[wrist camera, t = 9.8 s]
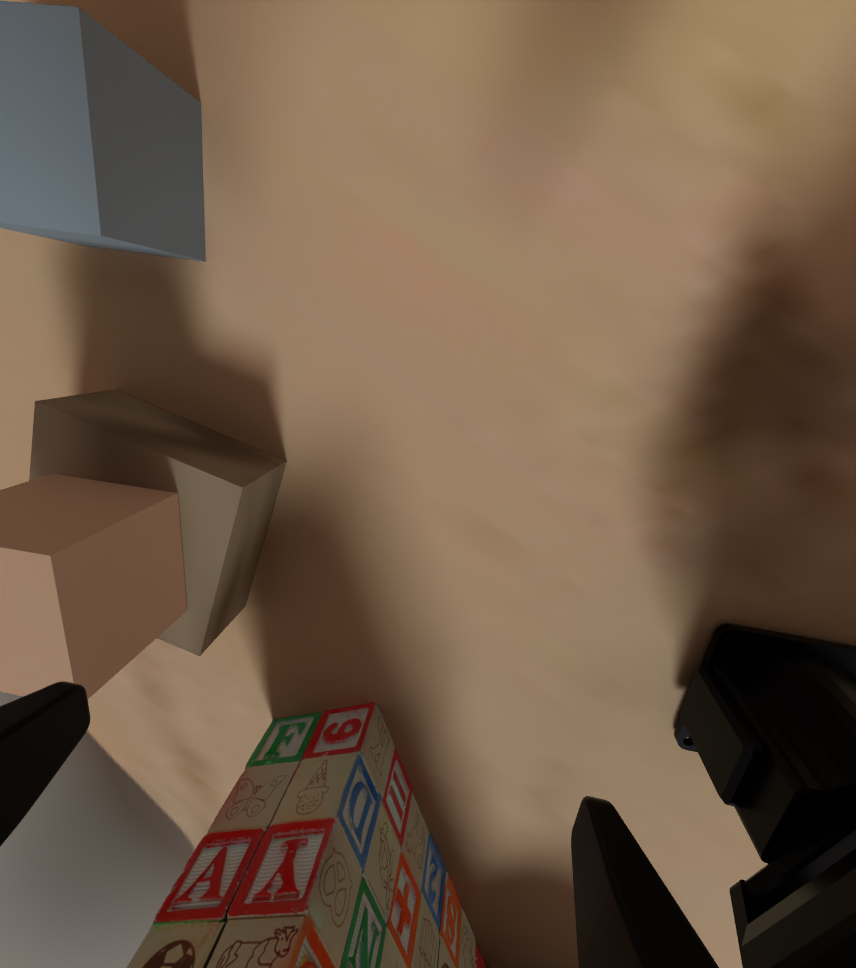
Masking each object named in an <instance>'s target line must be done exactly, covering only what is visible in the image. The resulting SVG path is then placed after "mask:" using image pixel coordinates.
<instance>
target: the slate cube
mask: <svg viewBox="0 0 856 968" xmlns="http://www.w3.org/2000/svg"><path fill="white" fill-rule="evenodd" d="M0 228H4V229H8V230H13V231H18V232H22V233H27V234H32V235H36V236H41V237H46V238H51V239H55V240H60V241H65V242H69V243H74V244H79V245H83V246H90V247H97V248H105V249H113V250H120V251H128V252H136V253H144V254H151V255H159V256H167V257H174V258H182V259H190V260H198V261H205V262H206V258H205V224H204V190H203V157H202V123H201V103H200V102H199V101H198V100H196V99H195V98H194V97H193V96H191V95H190V94H189V93H188V92H186V91H185V90H184V89H182V88H181V87H180V86H179V85H177V84H176V83H175V82H174V81H172V80H171V79H170V78H168V77H167V76H166V75H165V74H163V73H162V72H161V71H160V70H158V69H157V68H156V67H154V66H153V65H152V64H151V63H149V62H148V61H147V60H145V59H144V58H143V57H142V56H140V55H139V54H138V53H137V52H135V51H134V50H133V49H131V48H130V47H129V46H128V45H126V44H125V43H124V42H123V41H121V40H120V39H119V38H117V37H116V36H115V35H114V34H112V33H111V32H110V31H109V30H107V29H106V28H105V27H103V26H102V25H101V24H100V23H98V22H97V21H96V20H94V19H93V18H92V17H91V16H89V15H88V14H87V13H86V12H84V11H83V10H82V9H80V8H79V7H73V6H60V5H47V4H35V3H22V2H10V1H0Z"/></svg>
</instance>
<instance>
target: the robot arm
mask: <svg viewBox="0 0 856 968" xmlns="http://www.w3.org/2000/svg"><path fill="white" fill-rule="evenodd" d="M728 635H733V636H732V637H731V638H729V639H725V638H726V636H728ZM89 724H90V712H89V706H88V700H87V693H86V689H85V688H84V687H83V686H82V685H80V684H75V683H71V682H65V681H61V682H57V683H54V684H52V685H49V686H47V687H45V688H42V689H40V690H38V691H35V692H33V693H31V694H28V695H26V696H24V697H21V698H19V699H17V700H14V701H12V702H10V703H7V704H5V705H2V706H0V846H1V845H2V843H3V842H4V841H5V840H6V839H7V838H8V836H9V835H10V834H11V833H12V831H13V830H14V829H15V828H16V827H17V825H18V824H19V823H20V822H21V820H22V819H23V818H24V816H25V815H26V814H27V812H28V811H29V810H30V808H31V807H32V806H33V804H34V803H35V802H36V800H37V799H38V798H39V796H40V795H41V793H42V792H43V791H44V789H45V788H46V787H47V785H48V784H49V782H50V781H51V780H52V778H53V777H54V776H55V774H56V773H57V771H58V770H59V769H60V767H61V766H62V765H63V763H64V762H65V761H66V759H67V758H68V756H69V755H70V754H71V752H72V751H73V749H74V748H75V747H76V745H77V744H78V742H79V741H80V740H81V738H82V737H83V736H84V734H85V733H86V731H87V729H88V727H89ZM674 736H675V738H676V741H677V743H678V745H679V746H680V747H681V748H682V749H685V750H689V751H694V752H698V754H699V756H700V758H701V760H702V762H703V764H704V766H705V768H706V770H707V772H708V774H709V776H710V778H711V780H712V782H713V784H714V786H715V789H716V791H717V793H718V795H719V796H720V798H721V799H722V800H723V802H724V803H725V804H727V805H731V806H734V807H735V809H736V811H737V813H738V815H739V817H740V819H741V821H742V823H743V825H744V827H745V829H746V831H747V833H748V834H749V836H750V838H751V840H752V842H753V844H754V846H755V848H756V850H757V852H758V854H759V856H760V858H761V860H762V861H763V862H765V863H768V865H766V866H765V867H764V868H762V869H761V870H760V871H758V872H757V873H756V874H754V875H753V876H752V877H750V878H749V879H748V880H746V881H745V880H742V879H741V880H740V881H739V882H737V883H736V884H735V885H733V886H732V887H731V888H730V896H731V901H732V907H733V913H734V919H735V925H736V930H737V936H738V942H739V948H740V954H741V959H742V965H743V968H856V646H851V645H845V644H840V643H834V642H829V641H823V640H818V639H812V638H807V637H801V636H795V635H790V634H784V633H779V632H773V631H768V630H762V629H757V628H751V627H746V626H740V625H734V624H723V625H720V626H719V627H717V628H716V630H715V631H714V633H713V636H712V638H711V641H710V643H709V646H708V648H707V651H706V653H705V656H704V658H703V661H702V663H701V666H700V667H699V668H698V669H697V670H696V672H695V675H694V677H693V680H692V682H691V685H690V687H689V690H688V692H687V695H686V698H685V700H684V703H683V705H682V708H681V710H680V719H679V722H678V724H677V727H676V729H675V732H674ZM687 737H689V738H687ZM571 850H572V867H573V883H574V900H575V916H576V932H577V948H578V961H579V968H719V967H718V965H717V964H716V962H715V961H714V959H713V958H712V956H711V955H710V953H709V952H708V950H707V948H706V947H705V945H704V944H703V942H702V941H701V939H700V938H699V936H698V935H697V933H696V932H695V930H694V929H693V927H692V926H691V924H690V922H689V921H688V919H687V918H686V916H685V915H684V913H683V912H682V910H681V909H680V907H679V906H678V904H677V903H676V901H675V899H674V898H673V896H672V895H671V893H670V892H669V890H668V889H667V887H666V886H665V884H664V883H663V881H662V880H661V878H660V877H659V875H658V873H657V872H656V870H655V869H654V867H653V866H652V864H651V863H650V861H649V860H648V858H647V857H646V855H645V854H644V852H643V850H642V849H641V847H640V846H639V844H638V843H637V841H636V840H635V838H634V837H633V835H632V834H631V832H630V831H629V829H628V828H627V826H626V824H625V823H624V821H623V820H622V818H621V817H620V815H619V814H618V812H617V811H616V809H615V808H614V806H613V805H612V804H611V803H610V802H609V801H607V800H603V799H599V798H594V797H590V796H586V797H584V798H583V800H582V802H581V805H580V808H579V811H578V814H577V817H576V820H575V823H574V826H573V829H572V836H571Z"/></svg>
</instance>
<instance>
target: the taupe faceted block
mask: <svg viewBox="0 0 856 968" xmlns="http://www.w3.org/2000/svg"><path fill="white" fill-rule="evenodd" d="M286 462H287V461H285V460H283V459H281V458H278V457H276V456H273V455H271V454H269V453H266V452H264V451H261V450H259V449H257V448H254V447H252V446H250V445H247V444H245V443H242V442H240V441H238V440H235V439H233V438H230V437H228V436H226V435H223V434H221V433H218V432H216V431H214V430H211V429H209V428H206V427H204V426H202V425H199V424H197V423H194V422H192V421H190V420H187V419H185V418H182V417H180V416H178V415H175V414H173V413H170V412H168V411H166V410H163V409H161V408H158V407H156V406H154V405H151V404H149V403H146V402H144V401H142V400H139V399H137V398H134V397H132V396H130V395H127V394H125V393H122V392H120V391H118V390H110V391H103V392H96V393H89V394H82V395H75V396H68V397H61V398H54V399H47V400H40V401H35V410H34V424H33V437H32V451H31V464H30V478H29V481H32V480H35V479H38V478H41V477H44V476H48V475H51V474H57V475H64V476H70V477H77V478H83V479H90V480H96V481H103V482H109V483H116V484H122V485H129V486H135V487H142V488H148V489H155V490H161V491H168V492H174V493H178V503H179V515H180V528H181V541H182V553H183V566H184V578H185V591H186V603H187V611H186V612H185V613H184V614H183V615H182V616H181V617H180V618H178V619H177V620H176V621H175V622H174V623H173V624H172V625H171V626H169V627H168V628H167V629H166V630H165V631H164V632H163V633H162V634H160V635H159V636H158V637H157V638H158V639H160V640H163V641H165V642H167V643H170V644H172V645H174V646H177V647H179V648H182V649H184V650H186V651H189V652H191V653H193V654H196V655H198V656H200V655H201V654H202V653H203V652H204V651H205V650H206V649H207V648H208V647H209V645H210V644H211V643H212V642H213V641H214V640H215V639H216V638H217V637H218V636H219V634H220V633H221V632H222V631H223V630H224V629H225V628H226V627H227V626H228V625H229V624H230V622H231V621H232V620H233V619H234V618H235V617H236V616H237V615H238V614H239V613H240V612H241V610H242V609H243V608H244V607H245V606H246V602H247V599H248V595H249V592H250V588H251V585H252V581H253V578H254V574H255V571H256V567H257V564H258V560H259V557H260V553H261V550H262V546H263V543H264V539H265V536H266V532H267V529H268V525H269V522H270V518H271V515H272V511H273V508H274V504H275V501H276V497H277V494H278V490H279V487H280V483H281V480H282V476H283V473H284V469H285V466H286Z"/></svg>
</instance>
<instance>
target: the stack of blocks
mask: <svg viewBox="0 0 856 968" xmlns="http://www.w3.org/2000/svg"><path fill="white" fill-rule="evenodd" d="M127 968H487V967H486V965H485V962H484V960H483V958H482V956H481V954H480V951H479V949H478V947H477V944H476V940H475V936H474V934H473V931H472V929H471V926H470V924H469V922H468V919H467V917H466V915H465V912H464V910H463V909H462V907H461V903H460V900H459V898H458V895H457V893H456V891H455V888H454V886H453V883H452V881H451V879H450V876H449V873H448V872H447V871H446V870H445V868H444V865H443V862H442V860H441V858H440V856H439V853H438V851H437V848H436V846H435V844H434V841H433V839H432V836H431V834H430V833H429V832H428V828H427V825H426V823H425V821H424V818H423V816H422V814H421V811H420V809H419V807H418V804H417V802H416V800H415V797H414V795H413V793H412V787H411V785H410V782H409V780H408V777H407V775H406V773H405V770H404V768H403V766H402V763H401V761H400V758H399V756H398V754H397V751H396V749H395V747H394V743H393V741H392V738H391V736H390V733H389V731H388V728H387V726H386V724H385V721H384V719H383V716H382V714H381V712H380V709H379V707H378V705H377V704H376V703H370V704H364V705H357V706H351V707H345V708H339V709H333V710H327V711H324V712H320V713H313V714H307V715H301V716H294V717H288V718H282V719H275V720H273V721H272V723H271V724H270V726H269V728H268V729H267V731H266V732H265V734H264V736H263V737H262V739H261V741H260V742H259V744H258V745H257V747H256V749H255V750H254V752H253V754H252V756H251V757H250V759H249V761H248V762H247V764H246V767H245V771H244V772H243V774H242V775H241V776H240V778H239V780H238V781H237V783H236V785H235V786H234V788H233V790H232V791H231V793H230V795H229V796H228V798H227V800H226V801H225V803H224V805H223V806H222V808H221V810H220V811H219V813H218V815H217V816H216V818H215V820H214V822H213V823H212V825H211V827H210V829H209V831H208V833H207V835H205V836H204V837H203V839H202V840H201V841H200V843H199V844H198V846H197V848H196V849H195V851H194V853H193V854H192V856H191V858H190V859H189V861H188V862H187V864H186V866H185V869H184V870H183V872H182V873H181V875H180V877H179V878H178V880H177V882H176V883H175V884H174V885H173V888H172V890H171V893H170V894H169V895H168V896H167V898H166V900H165V901H164V903H163V905H162V906H161V908H160V910H159V911H158V913H157V915H156V918H155V920H154V922H153V925H152V926H151V928H150V930H149V932H148V934H147V935H146V937H145V939H144V940H143V942H142V944H141V945H140V947H139V948H138V950H137V952H136V953H135V955H134V957H133V958H132V960H131V962H130V963H129V965H128V967H127Z"/></svg>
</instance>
